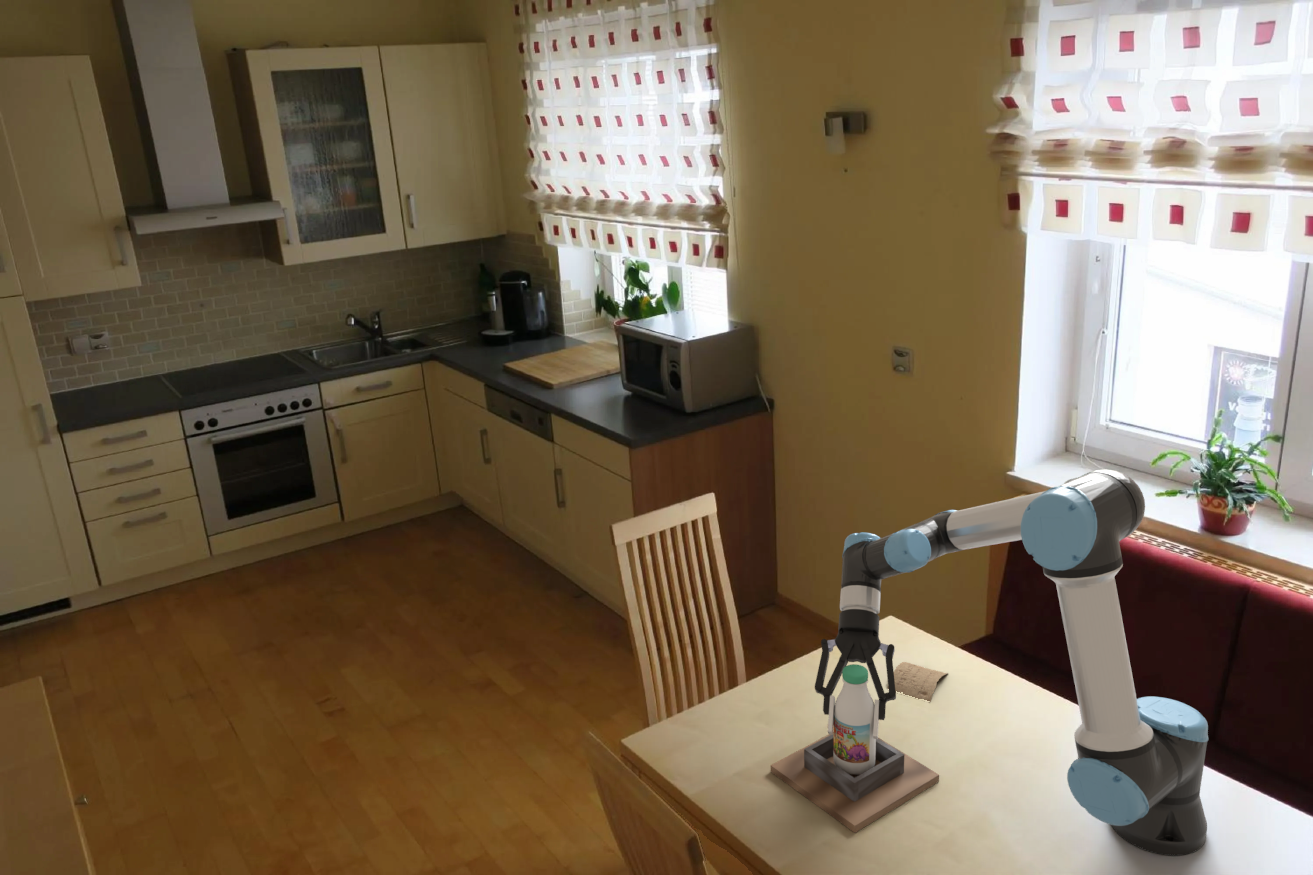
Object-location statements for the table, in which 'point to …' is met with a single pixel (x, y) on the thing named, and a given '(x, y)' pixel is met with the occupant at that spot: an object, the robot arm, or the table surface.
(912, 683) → the clay tablet
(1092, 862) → the table surface
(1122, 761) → the robot arm
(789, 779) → the bottle stand
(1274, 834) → the table surface
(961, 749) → the table surface
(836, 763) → the milk bottle
